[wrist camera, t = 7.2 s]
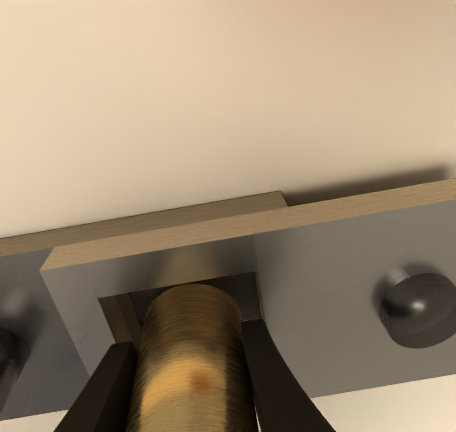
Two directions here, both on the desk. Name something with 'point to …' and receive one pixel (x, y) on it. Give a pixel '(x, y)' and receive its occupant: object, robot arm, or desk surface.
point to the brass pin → (192, 366)
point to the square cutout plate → (236, 264)
